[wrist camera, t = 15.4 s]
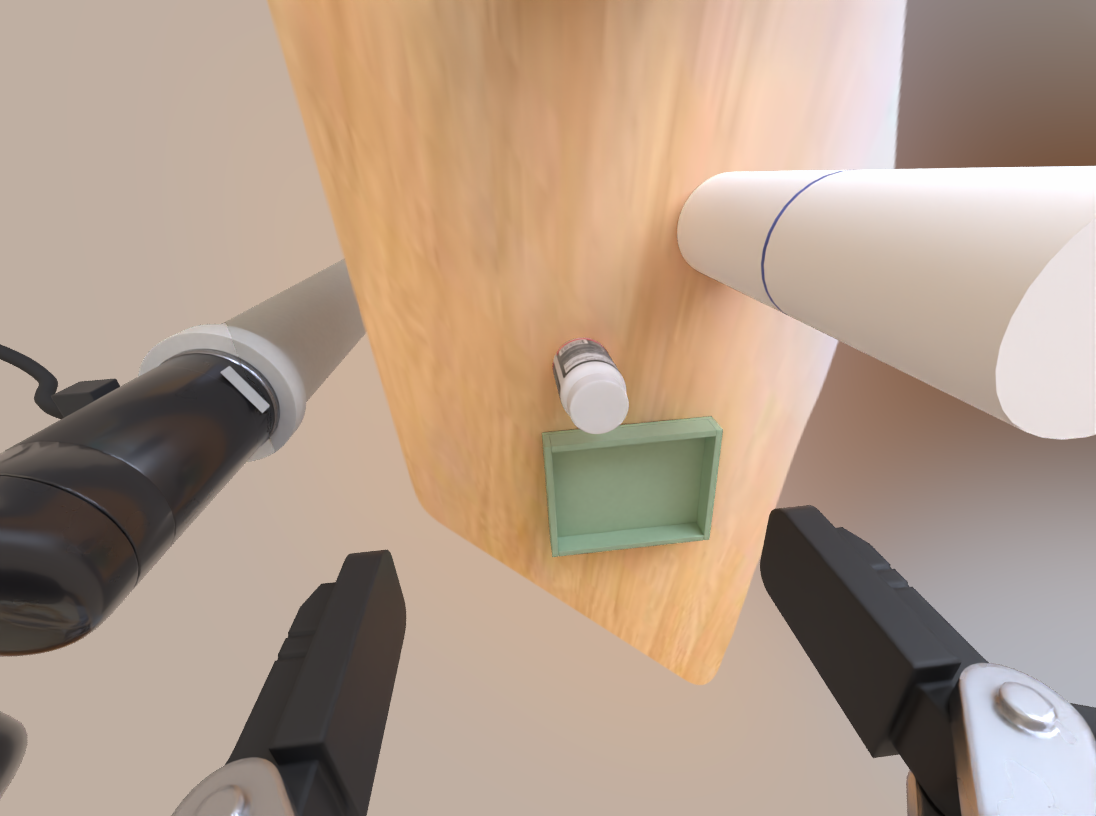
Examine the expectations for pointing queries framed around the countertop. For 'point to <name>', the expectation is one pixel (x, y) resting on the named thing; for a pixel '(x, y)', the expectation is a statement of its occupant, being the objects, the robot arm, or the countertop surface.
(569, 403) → the pill bottle
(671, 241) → the countertop surface
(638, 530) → the tray
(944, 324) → the cylindrical container
